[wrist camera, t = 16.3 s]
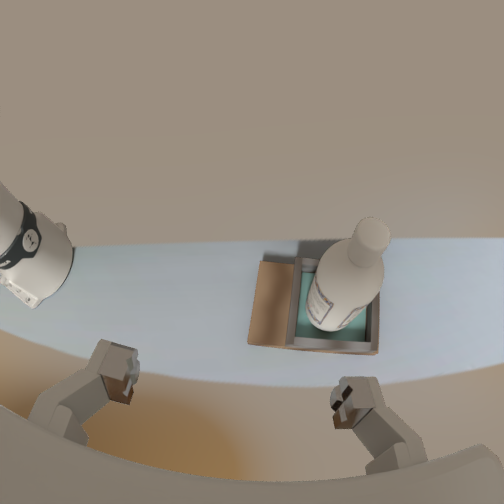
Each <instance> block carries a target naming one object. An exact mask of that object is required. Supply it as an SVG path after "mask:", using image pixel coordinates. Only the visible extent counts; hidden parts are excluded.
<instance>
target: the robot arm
mask: <svg viewBox="0 0 504 504" xmlns="http://www.w3.org/2000/svg"><path fill="white" fill-rule="evenodd" d="M72 256H73V250H72V245H71V242H70V240H69V239H68V237H67V234H66V226H65V225H64V224H63V223H57V224H55V223H53V222H52V221H51V220H50V219H49V218H48V217H47V216H45V215H44V214H43V213H42V212H35V213H33V212H32V211H31V209H30V208H29V207H28V206H27V205H25V204H24V203H23V202H21V201H18V200H17V199H16V198H15V197H14V196H13V195H12V194H11V193H10V191H9V190H8V189H7V188H6V187H5V186H4V185H3V184H2V183H1V181H0V273H1V274H2V276H1V277H0V283H1V284H3V285H4V286H6V287H7V288H8V289H9V290H10V291H11V292H12V293H13V294H15V295H16V296H17V297H18V298H19V299H20V300H22V301H23V302H24V303H25V304H27V305H28V306H29V307H30V308H32V309H34V308H36V307H37V306H38V305H39V304H40V302H41V301H42V300H43V299H45V298H46V297H48V296H50V295H52V294H53V293H54V292H55V291H56V290H57V289H58V288H59V287H60V286H61V285H62V283H63V282H64V280H65V278H66V277H67V275H68V272H69V270H70V267H71V263H72ZM137 357H138V350H137V349H135V348H131V347H128V346H124V345H121V344H117V343H114V342H110V341H107V340H103V339H101V340H100V341H99V342H98V344H97V346H96V348H95V350H94V352H93V354H92V356H91V358H90V360H89V362H88V364H87V366H86V368H85V370H84V369H80V370H79V371H77V372H76V373H74V374H72V375H71V376H69V377H67V378H66V379H64V380H62V381H61V382H59V383H57V384H56V385H54V386H52V387H51V388H49V389H47V390H46V391H44V392H42V393H41V394H39V396H38V398H37V400H36V402H35V404H34V407H33V409H32V411H31V413H30V415H29V417H28V419H27V420H26V419H25V418H23V417H21V416H19V415H17V414H16V413H14V412H12V411H10V410H9V409H7V408H5V407H4V406H2V405H0V504H504V470H503V467H502V464H501V461H500V460H499V458H498V457H497V456H496V455H495V454H494V453H493V452H492V451H491V450H490V449H489V448H488V447H486V446H485V445H483V444H477V445H474V446H472V447H469V448H466V449H464V450H461V451H458V452H456V453H453V454H450V455H447V456H444V457H441V458H438V459H434V460H431V461H428V459H427V455H426V452H425V448H424V445H423V442H422V439H421V437H420V436H419V435H418V434H417V433H416V432H415V431H413V430H412V429H411V428H410V427H409V426H408V425H407V424H406V423H405V422H404V421H403V420H402V419H401V418H400V417H399V416H398V415H396V413H395V412H393V411H392V410H391V409H390V408H389V407H386V405H385V402H384V398H383V395H382V392H381V389H380V386H379V383H378V380H377V378H376V377H346V376H344V377H342V378H341V379H340V380H339V385H338V386H336V387H335V388H334V389H333V391H332V393H331V397H330V405H331V408H332V409H333V410H334V411H335V413H334V415H333V421H334V427H335V429H352V430H353V432H354V433H355V434H356V436H357V437H358V438H359V439H360V441H361V442H362V443H363V445H364V446H365V447H366V448H367V450H368V451H369V452H370V454H371V455H372V456H373V457H374V460H372V461H371V462H370V463H368V464H367V465H366V467H365V469H366V475H363V476H356V477H349V478H341V479H330V480H318V481H298V482H263V481H243V480H230V479H221V478H212V477H204V476H197V475H191V474H185V473H179V472H174V471H169V470H164V469H160V468H155V467H151V466H147V465H143V464H139V463H135V462H132V461H128V460H125V459H121V458H118V457H115V456H112V455H109V454H106V453H103V452H100V451H97V450H94V449H91V448H89V447H86V446H87V442H88V439H89V437H88V435H87V433H86V432H85V431H84V429H83V428H82V426H81V425H82V424H83V423H84V422H85V421H86V420H88V419H89V418H90V417H91V416H93V415H94V414H95V413H96V412H97V411H99V410H100V409H101V408H102V407H103V406H105V405H106V404H107V403H108V402H109V401H110V400H112V401H115V402H119V403H123V404H127V405H130V402H131V399H132V395H133V393H134V392H133V387H132V386H133V385H134V384H136V383H137V380H138V376H139V371H140V364H139V361H138V360H137Z"/></svg>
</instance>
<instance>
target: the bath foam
mask: <svg viewBox="0 0 504 504" xmlns="http://www.w3.org/2000/svg"><path fill="white" fill-rule="evenodd" d="M390 240H391V233H390V230H389V228H388V226H387V225H386V224H385V223H384V222H383V221H381V220H380V219H377V218H373V217H368V218H365V219H362V220H361V221H360V222H359V223H358V225H357V227H356V229H355V231H354V234H353V236H352V238H349V239H344V240H341V241H339V242H337V243H335V244H333V245H332V246H331V247H330V248H329V249H328V250H327V251H326V252H325V253H324V254H323V256H322V257H321V259H320V261H319V263H318V266H317V270H316V273H315V276H314V279H313V282H312V285H311V287H310V290H309V293H308V296H307V300H306V305H305V309H306V314H307V317H308V319H309V320H310V322H311V323H312V324H313V325H314V326H315V327H317V328H318V329H321V330H323V331H329V332H332V331H338V330H340V329H343V328H344V327H346V326H347V325H348V324H349V323H350V322H351V321H352V320H353V319H354V318H355V317H356V316H357V315H358V314H359V313H360V312H361V311H362V310H363V309H364V308H365V307H366V306H367V305H368V304H369V303H370V302H371V301H372V300H373V299H374V298H375V297H376V296H377V294H378V292H379V290H380V288H381V286H382V283H383V279H384V265H383V261H382V258H381V255H382V254H383V252H384V251H385V249H386V248H387V246H388V245H389V243H390Z"/></svg>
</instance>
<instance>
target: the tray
mask: <svg viewBox="0 0 504 504" xmlns="http://www.w3.org/2000/svg"><path fill="white" fill-rule="evenodd" d="M319 261H320V259H310V258H301V257H295V263H294V264H284V263H275V262H266V261H260V265H259V271H258V278H257V284H256V290H255V297H254V303H253V309H252V316H251V322H250V328H249V334H248V341H247V342H248V344H251V345H258V346H266V347H274V348H283V349H292V350H302V351H313V352H325V353H339V354H355V355H375V354H378V345H379V292H378V294H377V296H376V297H375V298H374V299H373V300H372V301H371V302H370V303H369V304H368V305H367V306H366V307H365V308H364V309H363V310H362V311H361V312H360V313H359V314H358V315H357V316H356V317H355V318H354V319H353V320H352V321H351V322H350V323H349V324H348V325H347V326H346V327H344V328H343V329H340V330H338V331H332V332H329V331H323V330H321V329H318V328H317V327H315V326H314V325H313V324H312V323H311V322H310V320H309V319H308V317H307V314H306V309H305V305H306V300H307V296H308V293H309V290H310V287H311V285H312V282H313V279H314V276H315V273H316V270H317V266H318V263H319Z"/></svg>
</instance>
